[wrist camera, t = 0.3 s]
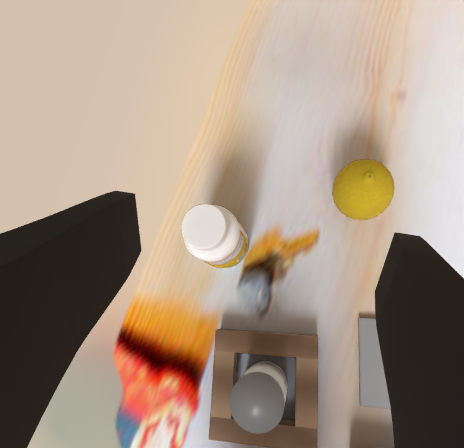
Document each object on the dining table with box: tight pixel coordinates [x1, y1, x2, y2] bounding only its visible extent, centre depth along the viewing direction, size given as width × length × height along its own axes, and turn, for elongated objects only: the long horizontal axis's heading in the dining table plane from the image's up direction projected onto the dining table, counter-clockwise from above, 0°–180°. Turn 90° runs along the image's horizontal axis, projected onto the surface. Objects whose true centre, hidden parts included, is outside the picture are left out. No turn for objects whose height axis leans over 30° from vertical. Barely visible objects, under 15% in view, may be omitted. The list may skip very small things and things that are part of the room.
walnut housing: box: [209, 329, 318, 448], centre depth 36 cm, size 10×10×2 cm
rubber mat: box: [358, 318, 391, 409], centre depth 35 cm, size 8×8×1 cm
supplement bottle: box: [182, 204, 249, 268], centre depth 36 cm, size 5×5×10 cm
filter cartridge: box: [229, 361, 288, 434], centre depth 33 cm, size 4×4×8 cm
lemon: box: [332, 159, 394, 220], centre depth 36 cm, size 6×6×8 cm
